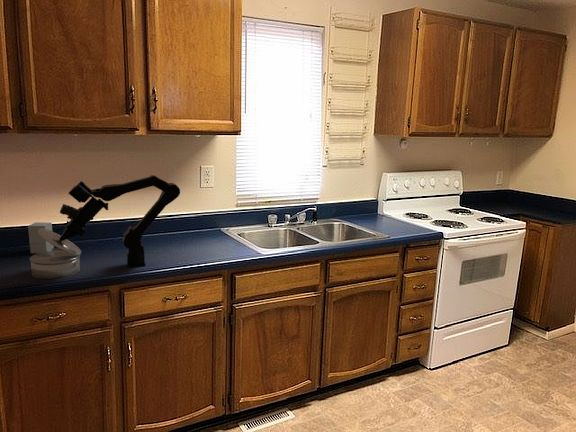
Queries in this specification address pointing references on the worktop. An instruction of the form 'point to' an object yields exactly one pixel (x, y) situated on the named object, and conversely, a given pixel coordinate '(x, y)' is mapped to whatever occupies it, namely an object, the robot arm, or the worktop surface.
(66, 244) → the lid
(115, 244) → the worktop surface
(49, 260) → the cooker pot
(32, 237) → the supplement box
